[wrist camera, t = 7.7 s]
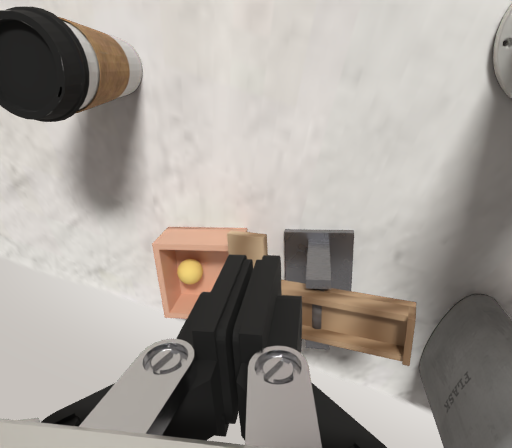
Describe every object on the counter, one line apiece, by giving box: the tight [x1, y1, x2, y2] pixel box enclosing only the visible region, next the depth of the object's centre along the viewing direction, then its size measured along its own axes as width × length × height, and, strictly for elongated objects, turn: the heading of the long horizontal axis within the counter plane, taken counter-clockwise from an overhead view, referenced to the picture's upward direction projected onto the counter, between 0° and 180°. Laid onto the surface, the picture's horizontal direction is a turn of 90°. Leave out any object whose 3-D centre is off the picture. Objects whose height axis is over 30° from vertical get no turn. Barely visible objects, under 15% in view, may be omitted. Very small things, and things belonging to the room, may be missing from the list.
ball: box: [177, 259, 203, 284], centre depth 47 cm, size 3×3×3 cm
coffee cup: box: [0, 7, 142, 122], centre depth 34 cm, size 8×8×15 cm
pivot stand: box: [285, 229, 354, 349], centre depth 42 cm, size 8×10×10 cm
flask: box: [419, 294, 512, 448], centre depth 38 cm, size 15×6×20 cm, turn 166°
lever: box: [227, 230, 416, 366], centre depth 37 cm, size 18×10×3 cm, turn 94°
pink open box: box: [152, 227, 247, 319], centre depth 46 cm, size 10×10×5 cm
